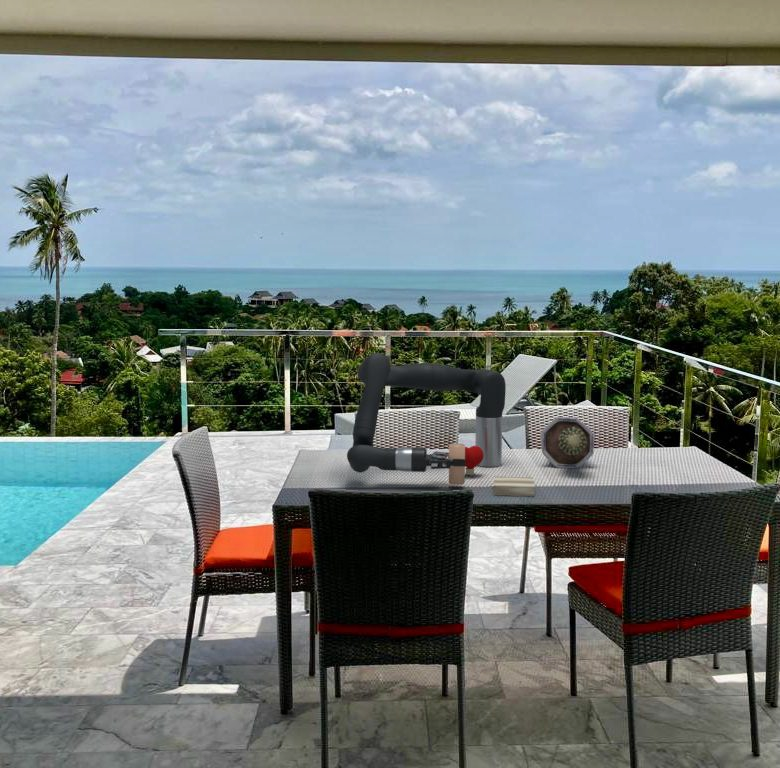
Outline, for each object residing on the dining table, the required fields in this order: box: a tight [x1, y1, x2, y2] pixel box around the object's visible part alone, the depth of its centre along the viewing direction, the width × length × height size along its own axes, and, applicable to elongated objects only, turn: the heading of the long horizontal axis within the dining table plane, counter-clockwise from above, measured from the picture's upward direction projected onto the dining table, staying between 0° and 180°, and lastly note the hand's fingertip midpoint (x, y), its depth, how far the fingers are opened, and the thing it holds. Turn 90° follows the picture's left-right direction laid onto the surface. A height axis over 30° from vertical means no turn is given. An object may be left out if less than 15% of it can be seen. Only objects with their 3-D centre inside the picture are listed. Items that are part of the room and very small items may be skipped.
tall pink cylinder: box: [448, 442, 466, 486], centre depth 264 cm, size 5×5×12 cm
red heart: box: [465, 445, 484, 477], centre depth 280 cm, size 9×7×10 cm
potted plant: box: [540, 416, 595, 469], centre depth 289 cm, size 18×18×30 cm
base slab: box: [493, 476, 536, 497], centre depth 261 cm, size 12×12×3 cm
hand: (465, 460), depth 264 cm, fingers closed on tall pink cylinder, 5 cm apart
